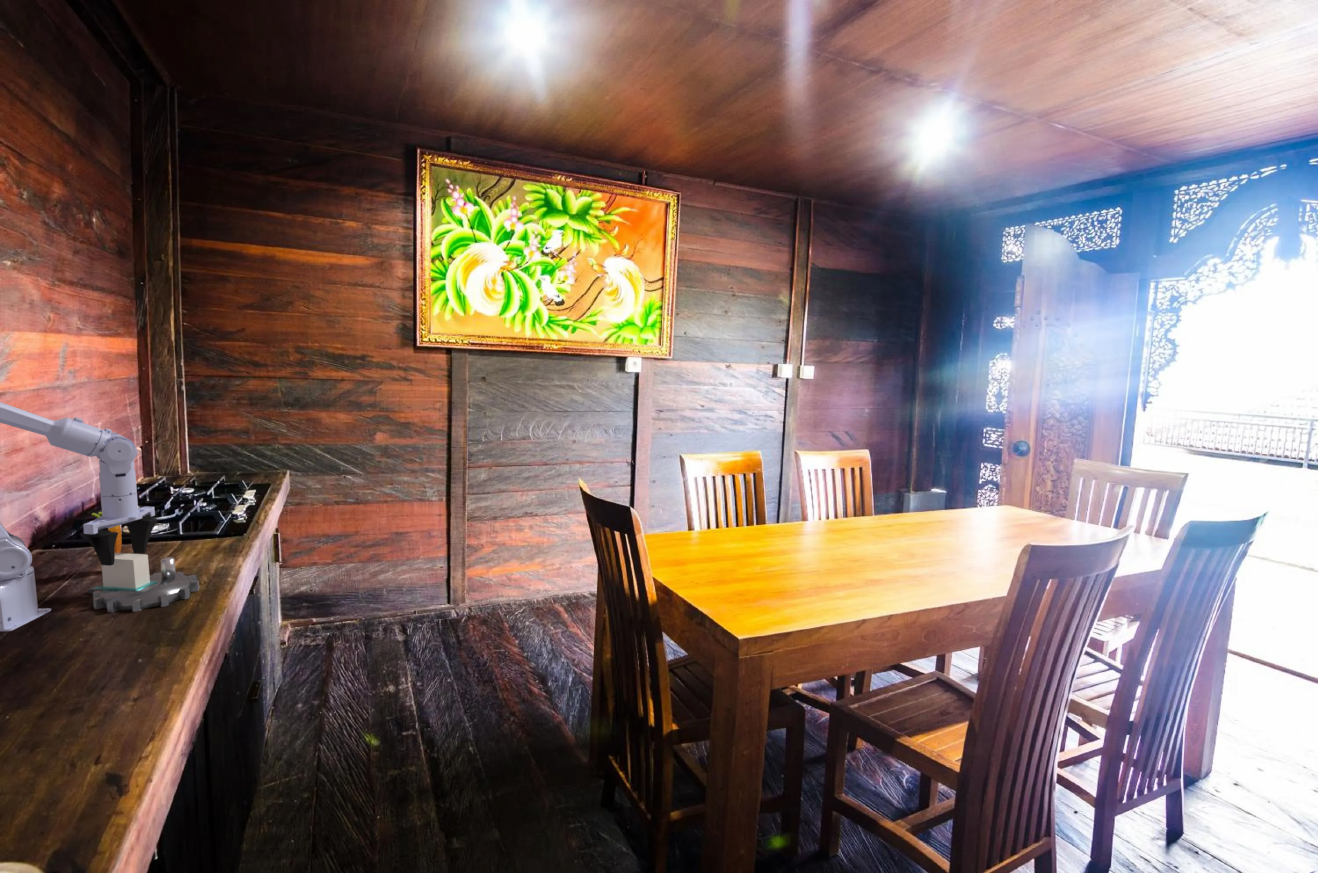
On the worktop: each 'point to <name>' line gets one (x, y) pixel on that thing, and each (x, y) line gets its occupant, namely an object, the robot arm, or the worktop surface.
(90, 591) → the timing pointer
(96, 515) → the carrot
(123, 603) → the sprocket
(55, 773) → the worktop surface
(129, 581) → the white rectangular block
